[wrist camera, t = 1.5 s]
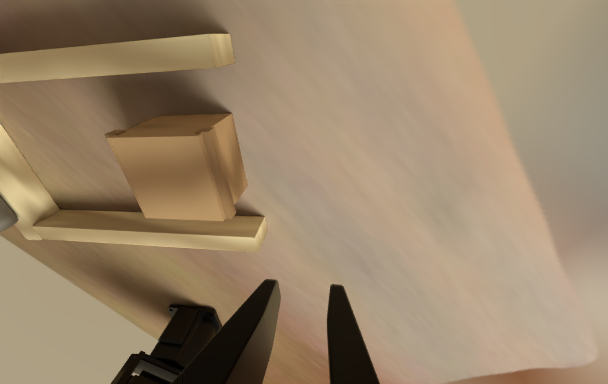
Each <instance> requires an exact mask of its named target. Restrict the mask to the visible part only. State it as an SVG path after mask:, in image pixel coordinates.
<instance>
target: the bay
mask: <svg viewBox="0 0 608 384" xmlns="http://www.w3.org/2000/svg"><path fill="white" fill-rule="evenodd" d="M233 63H235V59H234V53H233V48H232V43H231V38H230V34H203V35H192V36H182V37H172V38H161V39H151V40H140V41H130V42H120V43H109V44H99V45H88V46H78V47H68V48H57V49H47V50H36V51H26V52H16V53H5V54H0V83H8V82H22V81H36V80H50V79H65V78H79V77H93V76H107V75H121V74H135V73H149V72H163V71H177V70H191V69H205V68H217V67H221V66H225V65H229V64H233ZM13 225H15V226H16V227H17V228H18V230H19V231H20V232H21V233H22V234H23V236H24V237H25V238H26V239H27V240H41V239H50V240H66V241H83V242H99V243H115V244H131V245H148V246H164V247H180V248H197V249H213V250H229V251H246V252H259V249H260V247H261V245H262V242H263V240H264V238H265V235H266V233H267V226H266V220H265V217H257V216H234V217H233V218H232V219H224V221H203V220H179V219H155V218H145V216H144V214H143V212H119V211H91V210H63V209H59V207H58V206H57V205H56V203H55V202H54V200H53V199H52V197H51V196H50V194H49V193H48V192H47V190H46V189H45V187H44V186H43V184H42V183H41V181H40V180H39V179H38V177H37V176H36V174H35V173H34V171H33V170H32V168H31V167H30V166H29V164H28V163H27V161H26V160H25V158H24V157H23V155H22V154H21V153H20V151H19V150H18V148H17V147H16V145H15V144H14V142H13V141H12V140H11V138H10V137H9V135H8V134H7V132H6V131H5V129H4V128H3V127H2V125H1V124H0V232H1V231H4V230H6V229H8V228H10V227H11V226H13Z"/></svg>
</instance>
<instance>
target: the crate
mask: <svg viewBox="0 0 608 384" xmlns="http://www.w3.org/2000/svg"><path fill="white" fill-rule="evenodd" d="M105 136H106V138H107V140H108V142H109V144H110V146H111V148H112V150H113V152H114V154H115V156H116V158H117V161H118V163H119V165H120V167H121V169H122V171H123V173H124V175H125V177H126V179H127V181H128V183H129V185H130V187H131V189H132V191H133V193H134V195H135V197H136V199H137V201H138V204H139V206H140V208H141V210H142V212H143V214H144V216H145V218H155V219H179V220H203V221H224V219H232V218H233V217H234V215H235V214H236V209H235V203H236V202H237V200H238V199H239V197H240V196H241V195H242V193H243V192H244V190H245V189H246V187H247V186H248V185H247V180H246V175H245V171H244V166H243V162H242V157H241V152H240V148H239V143H238V138H237V134H236V129H235V125H234V120H233V115H232V113H226V114H198V115H170V116H157V117H154V118H152V119H150V120H147V121H145V122H143V123H140V124H138V125H136V126H133V127H131V128H129V129H126V130H114V131H111V132H109V133H107V134H105Z"/></svg>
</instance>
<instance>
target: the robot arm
mask: <svg viewBox="0 0 608 384" xmlns="http://www.w3.org/2000/svg"><path fill="white" fill-rule="evenodd" d="M280 299H281V295H280V290H279V285H278V281H277V280H273V279H266V280H264V281H263V282H262V283H261V285H260V286H259V287H258V288H257V289H256V290H255V291H254V292H253V293H252V295H251V296H250V297H249V298H248V299H247V300H246V301H245V302H244V303H243V305H242V306H241V307H240V308H239V309H238V310H237V311H236V312H235V313H234V314H233V316H232V317H231V318H230V319H229V320H228V321H227V322H226V323H225V324H224V326H223V327H222V325H221V323H220V321H219V318H218V316H217V313H216V311H215V310H213V309H207V308H197V307H188V306H178V305H169V307H168V308H167V309H168V311H169V313H170V315H171V317H172V319H171V320H170V322H169V323H168V325H167V327H166V328H165V330H164V331H163V333H162V334H161V336H160V338H159V341H158V343H157V344H156V346H155V348H154V349H153V351H152V352H151V354H150V355H147V354H145V352H143V351H141V352H140V353H139V354H131V356H130V357H129V359H128V360H127V361H126V363H125V365H124V366H123V367H122V369H121V370H120V372H119V373H118V374H117V376H116V377H115V378H114V380H113V381H112V383H111V384H262V383H263V379H264V376H265V372H266V369H267V365H268V362H269V358H270V355H271V351H272V346H273V341H274V335H275V330H276V324H277V318H278V312H279V306H280ZM327 338H328V359H329V378H330V384H380V382H379V380H378V377H377V374H376V372H375V369H374V366H373V364H372V361H371V358H370V356H369V353H368V350H367V348H366V345H365V342H364V340H363V337H362V334H361V332H360V329H359V326H358V324H357V321H356V318H355V316H354V313H353V310H352V308H351V305H350V302H349V300H348V297H347V294H346V292H345V289H344V287H343V286H342V285H336V284H332V285H331V286H330V294H329V303H328V313H327ZM133 372H134V373H137V374H139V376H137V375H135V376H133V375H132V374H133Z"/></svg>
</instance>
